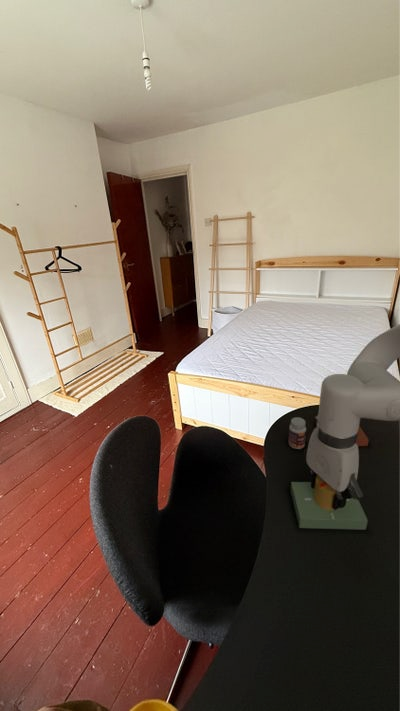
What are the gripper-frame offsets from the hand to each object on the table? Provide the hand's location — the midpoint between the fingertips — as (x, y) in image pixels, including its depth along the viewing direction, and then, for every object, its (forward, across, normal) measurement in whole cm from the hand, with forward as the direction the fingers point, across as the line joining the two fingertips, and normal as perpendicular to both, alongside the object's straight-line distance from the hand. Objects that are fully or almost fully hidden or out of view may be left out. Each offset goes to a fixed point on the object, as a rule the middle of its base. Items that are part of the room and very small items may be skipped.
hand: (327, 495), depth 68 cm
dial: (+1, 0, 0) cm, 1 cm away
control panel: (+4, 0, 0) cm, 4 cm away
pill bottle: (+5, -20, +9) cm, 23 cm away
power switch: (+4, -17, +23) cm, 29 cm away
